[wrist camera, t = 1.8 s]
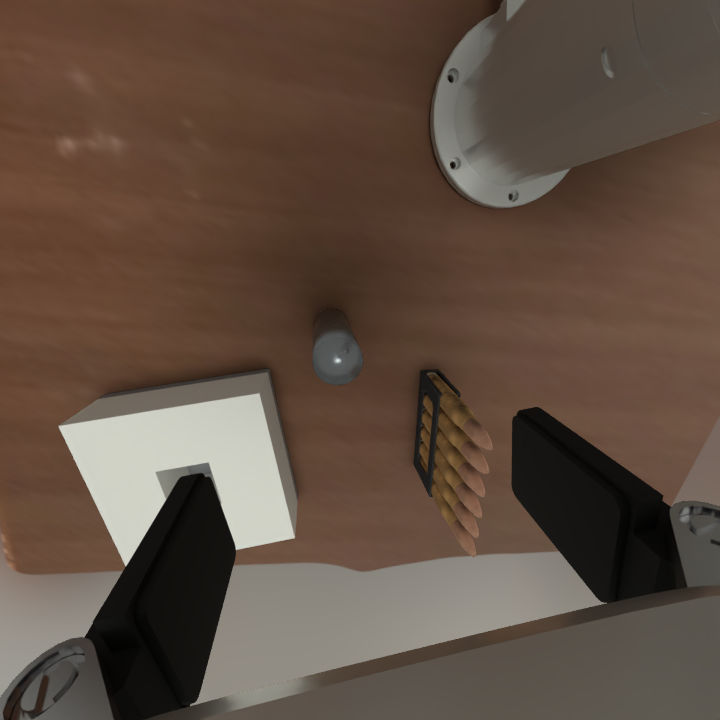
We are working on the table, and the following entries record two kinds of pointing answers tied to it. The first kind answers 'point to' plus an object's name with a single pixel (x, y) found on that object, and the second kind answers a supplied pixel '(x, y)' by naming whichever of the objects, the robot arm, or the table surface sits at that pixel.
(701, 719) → the robot arm
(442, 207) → the table surface
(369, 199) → the table surface
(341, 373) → the pin
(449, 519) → the ammunition clip
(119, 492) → the socket block
